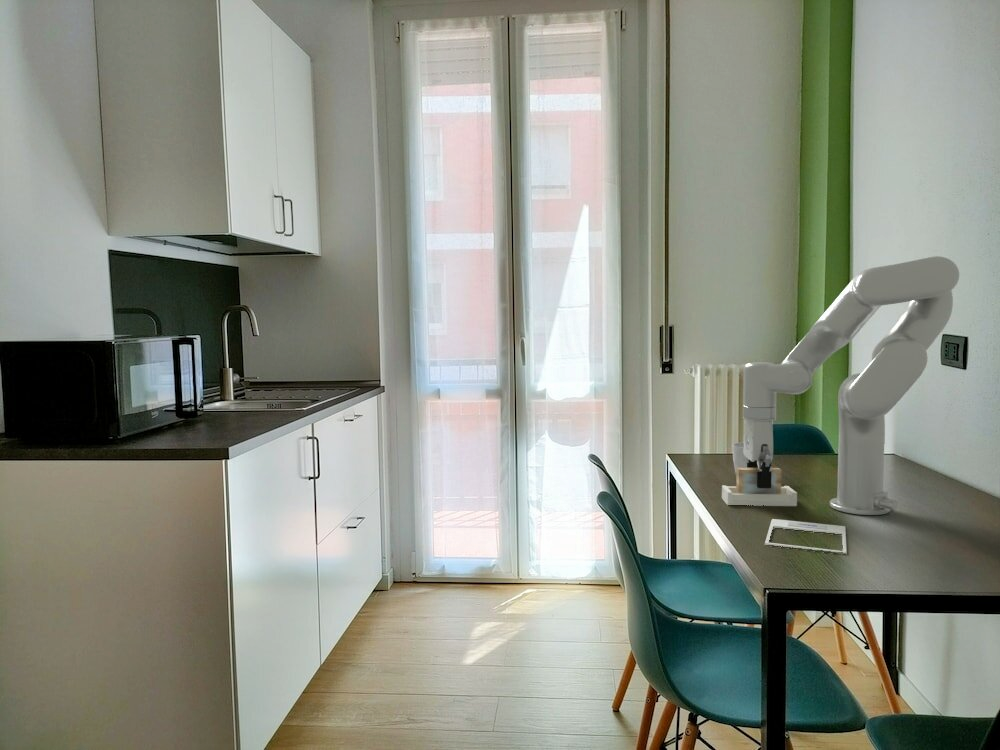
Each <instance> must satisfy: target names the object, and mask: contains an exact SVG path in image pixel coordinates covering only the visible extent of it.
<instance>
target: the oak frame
mask: <svg viewBox="0 0 1000 750" xmlns="http://www.w3.org/2000/svg"><path fill="white" fill-rule="evenodd" d="M771 468H772V471H771V488H758V487H757V471H759V470H758V468H736V473H735V477H736V480H735V481H736V482H735V483H736V485H735V486H736V494H781V487H782V469H781V468H779V467H771Z"/></svg>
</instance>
